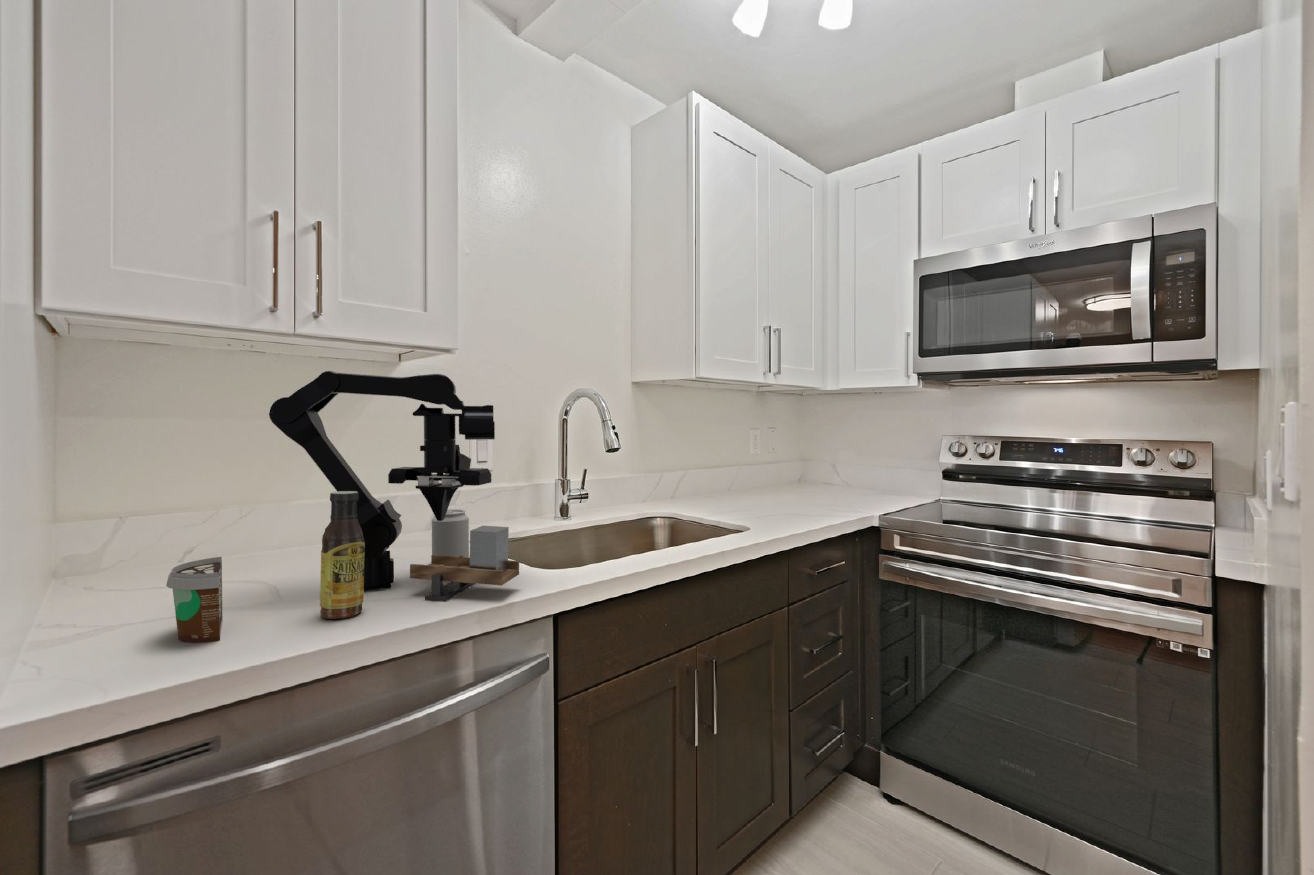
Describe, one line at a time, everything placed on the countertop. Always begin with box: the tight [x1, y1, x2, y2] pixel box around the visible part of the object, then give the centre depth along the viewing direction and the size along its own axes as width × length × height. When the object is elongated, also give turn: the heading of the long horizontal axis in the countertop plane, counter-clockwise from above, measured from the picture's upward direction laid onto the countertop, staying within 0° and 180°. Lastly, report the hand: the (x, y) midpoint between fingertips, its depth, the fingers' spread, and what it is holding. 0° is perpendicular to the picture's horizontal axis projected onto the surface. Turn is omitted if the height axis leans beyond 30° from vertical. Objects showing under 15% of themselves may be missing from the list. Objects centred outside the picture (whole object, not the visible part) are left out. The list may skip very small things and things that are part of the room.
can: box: [431, 508, 470, 558], centre depth 124 cm, size 8×8×12 cm
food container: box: [165, 556, 224, 644], centre depth 84 cm, size 12×6×10 cm, turn 35°
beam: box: [409, 554, 520, 586], centre depth 105 cm, size 18×8×3 cm, turn 80°
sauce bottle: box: [319, 491, 365, 620], centre depth 93 cm, size 6×6×20 cm
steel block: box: [469, 525, 510, 573], centre depth 105 cm, size 5×5×8 cm
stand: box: [424, 574, 476, 602], centre depth 106 cm, size 4×11×4 cm, turn 170°
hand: (440, 520), depth 112 cm, fingers closed
